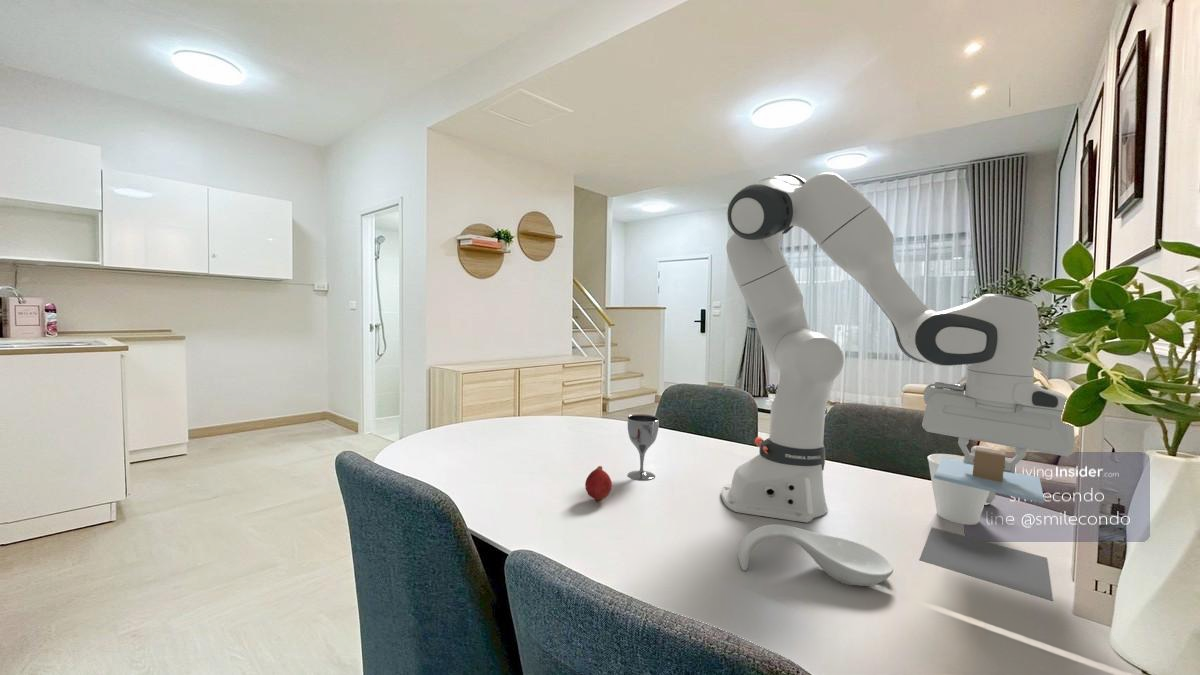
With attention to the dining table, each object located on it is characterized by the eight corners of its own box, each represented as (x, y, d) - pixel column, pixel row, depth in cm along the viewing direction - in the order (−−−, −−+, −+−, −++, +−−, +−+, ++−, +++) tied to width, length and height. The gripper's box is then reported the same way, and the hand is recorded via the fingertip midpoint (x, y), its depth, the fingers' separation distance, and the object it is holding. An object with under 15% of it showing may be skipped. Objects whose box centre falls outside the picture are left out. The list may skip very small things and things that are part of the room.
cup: (910, 511, 105) (914, 455, 105) (949, 505, 109) (953, 451, 108) (965, 536, 94) (970, 474, 93) (1007, 529, 98) (1012, 469, 97)
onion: (587, 507, 103) (588, 470, 102) (583, 496, 109) (583, 462, 108) (613, 505, 104) (614, 469, 104) (608, 495, 110) (609, 461, 109)
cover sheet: (1043, 503, 74) (1047, 471, 74) (934, 478, 83) (937, 450, 83) (1038, 480, 85) (1042, 452, 84) (942, 460, 94) (944, 435, 93)
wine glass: (621, 471, 126) (623, 414, 125) (650, 469, 128) (652, 413, 127) (631, 482, 118) (633, 422, 117) (661, 479, 120) (663, 421, 119)
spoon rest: (872, 561, 84) (875, 521, 84) (906, 602, 73) (909, 556, 72) (734, 549, 87) (735, 510, 87) (745, 586, 76) (747, 542, 75)
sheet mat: (1052, 604, 73) (1053, 600, 73) (918, 563, 84) (919, 559, 84) (1046, 561, 85) (1047, 557, 85) (931, 530, 97) (931, 527, 96)
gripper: (923, 382, 87) (915, 456, 88) (1082, 401, 74) (1070, 489, 75) (927, 379, 92) (919, 449, 93) (1077, 396, 79) (1066, 479, 80)
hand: (988, 467), depth 84 cm, fingers closed on cover sheet, 4 cm apart
